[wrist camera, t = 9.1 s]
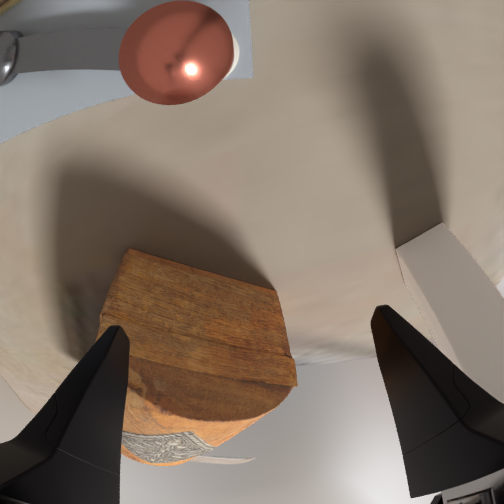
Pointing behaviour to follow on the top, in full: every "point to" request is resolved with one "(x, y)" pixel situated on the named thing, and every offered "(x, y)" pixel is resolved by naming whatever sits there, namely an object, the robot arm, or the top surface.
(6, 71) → the lever
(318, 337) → the top surface
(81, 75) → the blue-grey rectangular board
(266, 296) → the wooden box
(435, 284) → the milk
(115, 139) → the top surface
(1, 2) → the nut
